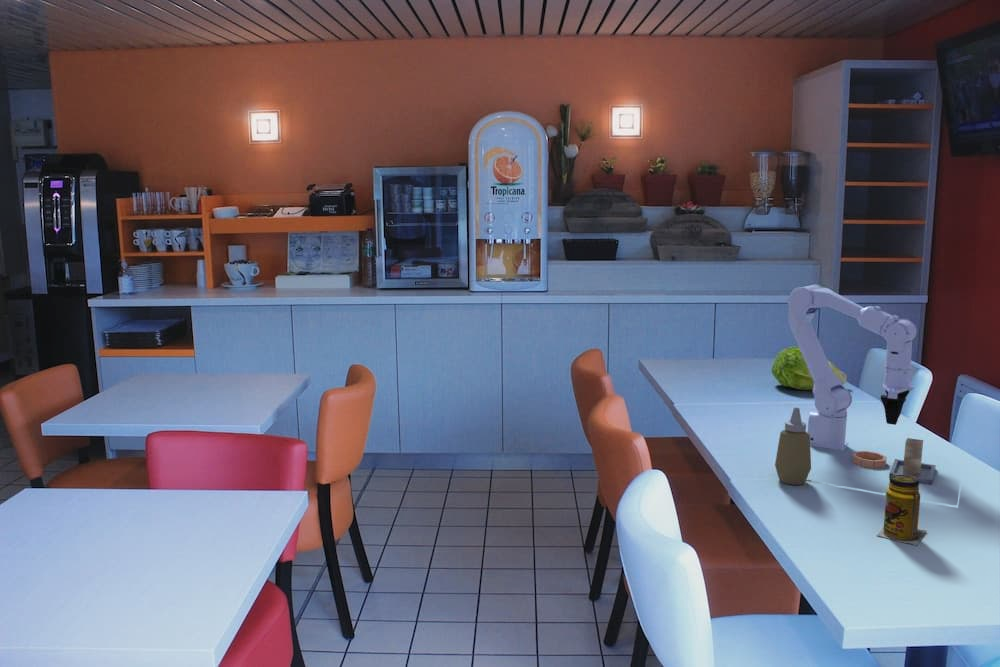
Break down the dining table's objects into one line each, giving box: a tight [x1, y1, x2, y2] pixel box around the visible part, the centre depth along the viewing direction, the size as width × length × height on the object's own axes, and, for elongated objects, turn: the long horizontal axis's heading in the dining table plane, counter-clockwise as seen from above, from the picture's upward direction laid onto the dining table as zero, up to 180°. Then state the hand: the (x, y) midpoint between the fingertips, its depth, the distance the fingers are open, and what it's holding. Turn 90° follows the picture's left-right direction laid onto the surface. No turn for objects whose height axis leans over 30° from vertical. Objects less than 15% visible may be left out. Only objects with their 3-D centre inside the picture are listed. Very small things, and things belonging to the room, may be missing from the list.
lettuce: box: [771, 345, 848, 391], centre depth 276 cm, size 15×24×16 cm
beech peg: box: [903, 437, 924, 476], centre depth 191 cm, size 4×4×8 cm
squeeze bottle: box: [774, 407, 812, 486], centre depth 187 cm, size 8×8×18 cm
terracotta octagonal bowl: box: [851, 450, 887, 469], centre depth 200 cm, size 8×8×2 cm
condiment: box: [876, 475, 928, 546], centre depth 158 cm, size 7×8×12 cm
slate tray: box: [888, 458, 937, 486], centre depth 192 cm, size 9×12×2 cm
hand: (893, 420), depth 202 cm, fingers open, 7 cm apart
